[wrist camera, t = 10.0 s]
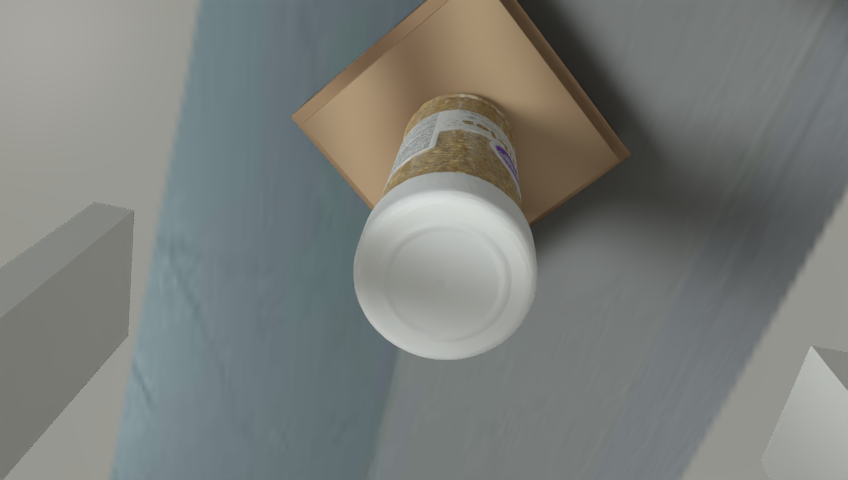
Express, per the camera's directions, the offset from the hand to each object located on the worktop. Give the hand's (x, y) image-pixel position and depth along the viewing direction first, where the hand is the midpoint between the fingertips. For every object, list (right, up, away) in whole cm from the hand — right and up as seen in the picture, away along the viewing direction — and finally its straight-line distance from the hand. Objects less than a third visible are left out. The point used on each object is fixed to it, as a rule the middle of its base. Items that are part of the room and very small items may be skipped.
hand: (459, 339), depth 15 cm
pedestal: (+1, +7, +20) cm, 21 cm away
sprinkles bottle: (+1, +6, +16) cm, 17 cm away
